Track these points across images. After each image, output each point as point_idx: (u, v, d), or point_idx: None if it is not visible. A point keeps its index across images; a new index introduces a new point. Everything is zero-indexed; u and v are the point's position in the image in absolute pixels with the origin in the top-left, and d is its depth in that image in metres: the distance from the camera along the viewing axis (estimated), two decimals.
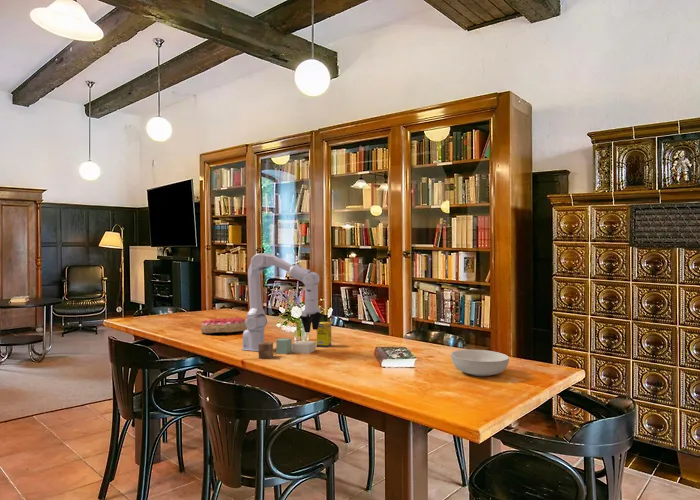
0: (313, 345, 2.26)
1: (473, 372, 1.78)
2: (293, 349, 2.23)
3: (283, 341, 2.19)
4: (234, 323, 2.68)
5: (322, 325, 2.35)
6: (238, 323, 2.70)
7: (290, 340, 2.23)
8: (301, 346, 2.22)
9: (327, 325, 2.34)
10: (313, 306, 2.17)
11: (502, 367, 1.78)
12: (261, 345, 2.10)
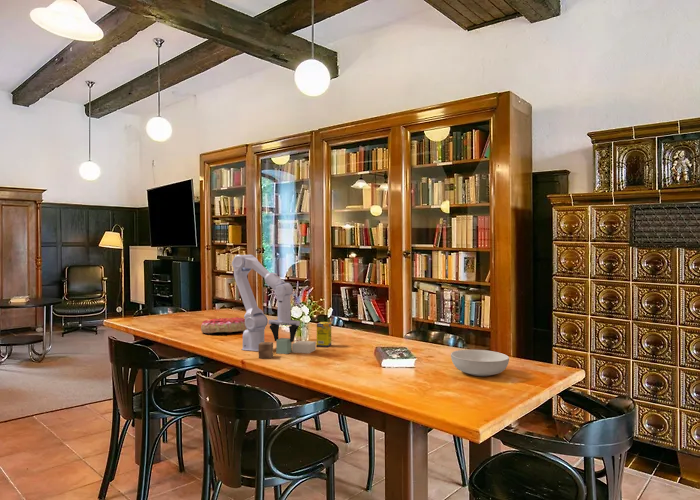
0: (313, 345, 2.26)
1: (473, 372, 1.78)
2: (293, 349, 2.23)
3: (283, 341, 2.19)
4: (234, 323, 2.68)
5: (322, 325, 2.35)
6: (238, 323, 2.70)
7: None
8: (301, 346, 2.21)
9: (327, 325, 2.34)
10: None
11: (502, 367, 1.78)
12: (261, 345, 2.10)
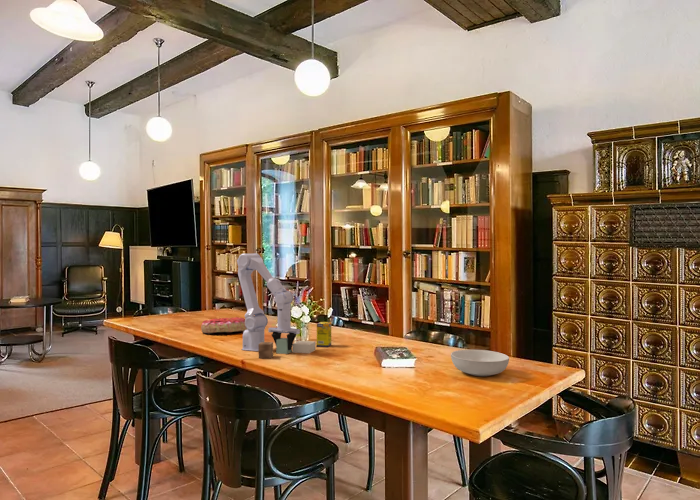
0: (313, 345, 2.26)
1: (473, 372, 1.78)
2: (293, 349, 2.23)
3: (283, 341, 2.19)
4: (234, 323, 2.69)
5: (322, 325, 2.35)
6: (238, 323, 2.70)
7: None
8: (301, 346, 2.21)
9: (327, 325, 2.34)
10: None
11: (502, 367, 1.78)
12: (261, 345, 2.10)
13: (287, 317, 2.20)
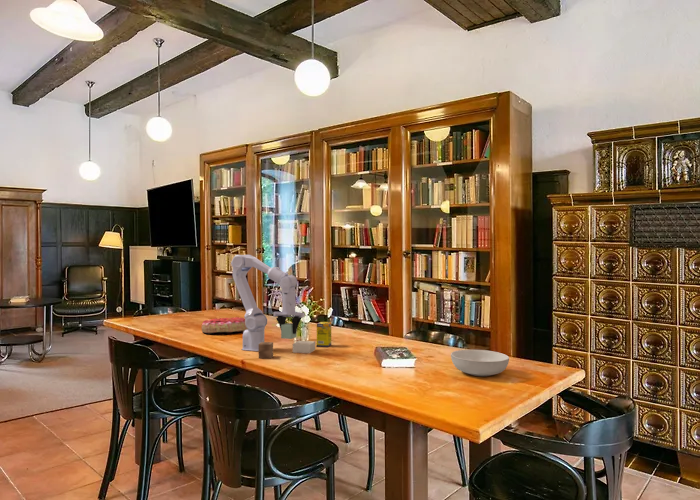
0: (313, 345, 2.26)
1: (473, 372, 1.78)
2: (294, 349, 2.22)
3: (288, 326, 2.20)
4: (235, 323, 2.69)
5: (322, 325, 2.34)
6: (239, 323, 2.71)
7: None
8: (302, 346, 2.21)
9: (327, 325, 2.34)
10: (282, 308, 2.22)
11: (502, 367, 1.78)
12: (261, 345, 2.10)
13: (292, 301, 2.21)
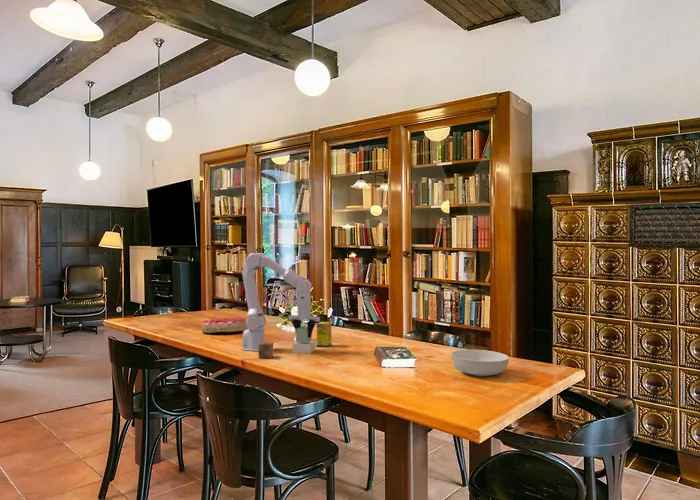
0: (313, 345, 2.26)
1: (473, 372, 1.78)
2: (294, 349, 2.22)
3: (303, 330, 2.23)
4: (235, 323, 2.69)
5: (322, 325, 2.34)
6: (239, 323, 2.71)
7: None
8: (302, 346, 2.21)
9: (327, 325, 2.34)
10: (298, 312, 2.24)
11: (502, 367, 1.78)
12: (261, 345, 2.10)
13: (309, 305, 2.24)
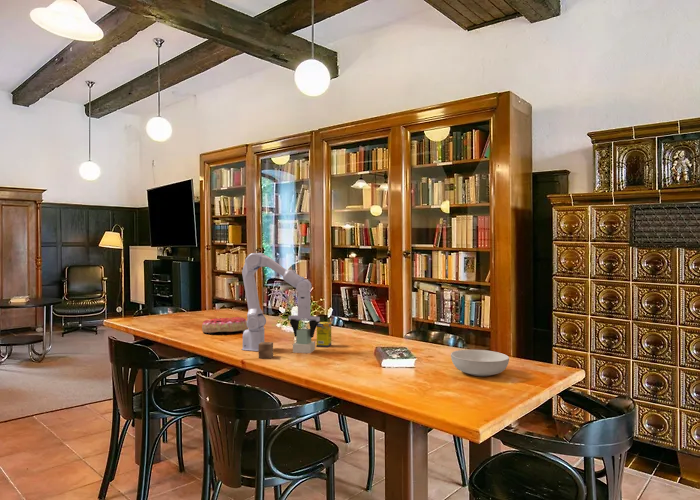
0: (313, 345, 2.26)
1: (473, 372, 1.78)
2: (294, 349, 2.22)
3: (303, 331, 2.23)
4: (235, 323, 2.70)
5: (322, 325, 2.35)
6: (239, 323, 2.71)
7: None
8: (302, 346, 2.21)
9: (327, 325, 2.34)
10: (298, 312, 2.24)
11: (502, 367, 1.78)
12: (261, 345, 2.10)
13: (309, 305, 2.24)
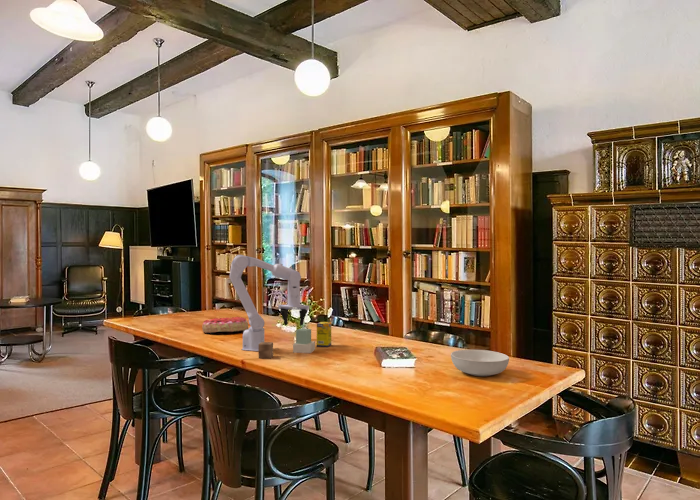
0: (313, 345, 2.26)
1: (473, 372, 1.78)
2: (294, 349, 2.22)
3: (303, 331, 2.22)
4: (235, 322, 2.70)
5: (322, 325, 2.35)
6: (239, 322, 2.72)
7: (310, 330, 2.25)
8: (302, 346, 2.21)
9: (327, 325, 2.34)
10: (288, 301, 2.32)
11: (502, 367, 1.78)
12: (261, 345, 2.10)
13: (299, 294, 2.33)
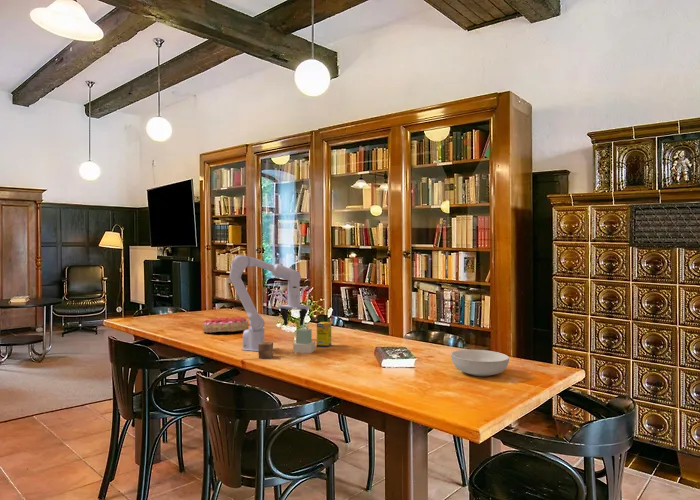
0: (313, 344, 2.26)
1: (473, 372, 1.78)
2: (294, 349, 2.22)
3: (303, 331, 2.22)
4: (236, 322, 2.70)
5: (322, 325, 2.35)
6: (240, 322, 2.72)
7: (310, 330, 2.25)
8: (302, 346, 2.22)
9: (327, 325, 2.34)
10: (288, 301, 2.32)
11: (502, 367, 1.78)
12: (261, 345, 2.10)
13: (299, 294, 2.33)
